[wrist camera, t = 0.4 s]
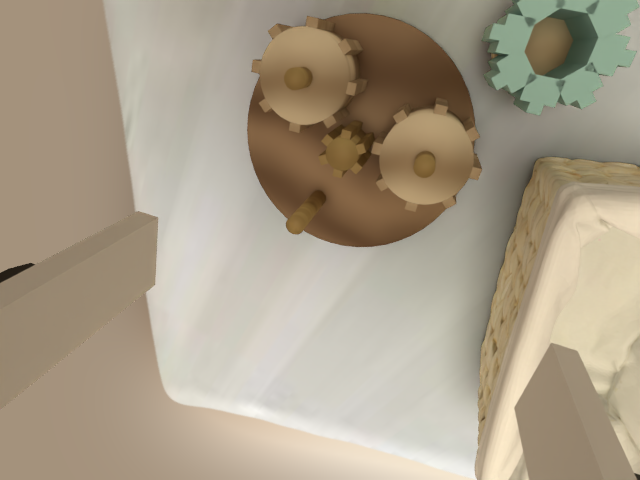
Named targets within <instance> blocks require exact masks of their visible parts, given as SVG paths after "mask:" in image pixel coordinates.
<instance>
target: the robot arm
mask: <svg viewBox="0 0 640 480" xmlns="http://www.w3.org/2000/svg"><path fill="white" fill-rule="evenodd" d="M157 232H158V217H155V216H152V215H149V214H146V213H142V212H139V211H138V212H136V213H134V214H132V215H130V216H128V217H126V218H124V219H122V220H120V221H118V222H117V223H115V224H113V225H111V226H109V227H107V228H105V229H103V230H102V231H100V232H97V233H95V234H94V235H92V236H90V237H88V238H86V239H84V240H82V241H80V242H78V243H76V244H74V245H72V246H71V247H68V248H67V249H65V250H63V251H61V252H59V253H57V254H55V255H53V256H51V257H49V258H47V259H45V260H44V261H42V262H40V263H38V264H36V265H35V264H32V263H29V264H25V265H22V266H17V267H14V268H10V269H7V270H5V271H3V272H1V273H0V410H1V409H2V408H3V407H4V406H6V405H7V404H8V403H9V402H10V401H12V400H13V399H14V398H16V397H17V396H18V395H19V394H20V393H22V392H23V391H24V390H25V389H27V388H28V387H29V386H30V385H32V384H33V383H34V382H35V381H37V380H38V379H39V378H40V377H41V376H43V375H44V374H45V373H46V372H48V371H49V370H50V369H51V368H53V367H54V366H55V365H56V364H58V363H59V362H60V361H61V360H63V359H64V358H65V357H66V356H68V355H69V354H70V353H71V352H72V351H74V350H75V349H76V348H77V347H78V346H80V345H81V344H82V343H84V342H85V341H86V340H87V339H89V338H90V337H91V336H92V335H93V334H95V333H96V332H97V331H98V330H100V329H101V328H102V327H103V326H104V325H106V324H107V323H108V322H109V321H111V320H112V319H113V318H114V317H116V316H117V315H118V314H119V313H121V312H122V311H123V310H124V309H126V308H127V307H128V306H129V305H130V304H132V303H133V302H134V301H136V300H137V299H138V298H139V297H140V296H142V295H143V294H144V293H145V292H147V291H148V290H149V289H150V288H152V287H153V286H154V285H155V275H156V254H157ZM514 410H515V414H516V419H517V424H518V429H519V434H520V438H521V443H522V448H523V453H524V458H525V462H526V467H527V472H528V477H529V480H640V475H639V474H636V473H634V472H633V470H632V468H631V465H630V463H629V461H628V459H627V457H626V455H625V452H624V450H623V448H622V446H621V444H620V442H619V439H618V437H617V435H616V433H615V431H614V429H613V426H612V424H611V422H610V420H609V418H608V416H607V413H606V411H605V409H604V407H603V405H602V403H601V400H600V398H599V396H598V394H597V392H596V390H595V387H594V385H593V383H592V381H591V379H590V377H589V374H588V372H587V370H586V368H585V366H584V364H583V361H582V359H581V357H580V355H579V353H578V351H576V350H573V349H570V348H567V347H564V346H561V345H558V344H554V343H551V344H550V346H549V347H548V349H547V351H546V353H545V354H544V356H543V358H542V360H541V361H540V363H539V365H538V367H537V368H536V370H535V372H534V374H533V375H532V377H531V379H530V381H529V382H528V384H527V386H526V388H525V389H524V391H523V393H522V395H521V396H520V398H519V400H518V402H517V404H516V405H515V407H514Z"/></svg>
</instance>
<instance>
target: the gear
mask: <svg viewBox="0 0 640 480" xmlns="http://www.w3.org/2000/svg"><path fill="white" fill-rule="evenodd" d="M512 2H513V4H514V5H513V6H512V7H510V8H509V9H507V10H506V11H505V13H506V15H505V16H504V17H502V18H500V19H499V20H498V22H497V24H496V23H493V24H492V25H490V26H488V27H486V29H485V32H484V35H483V38H482V41H484V42H489V43H490V46H489V49H488V53H493V54H497V55H498V56H496V57H495V58H493V59H491V60H490V61H488V63H489V65H490V67H491V69H492V70H490V71H489V72H487V73H486V74H484V77H485V79H486V81H487V83H488V85H489V86H491V87H492V88H494V89H496V90H499V89H500V88H502V89H504V90H506V91H508V93H509V94H510V95H512V96H514V97H516V98H515V101H514V105H516V106H517V107H519V108H520V109H522V110H523V111H525V112H526V113H531V114H535V115H540V114H541V112H542V109H543V107H544V105H545V106H550V107H554V108H555V106H556V103H557V102H558V103H561V104H563V105H566V106H567V105H572V106H575V107H577V108H580V109H583V108H585V107H587V106H589V105H590V104H592V103H594V102H596V99H595V97H594V95H593V93H592V92H593V91H595V90H597V89H599V88H600V87H602V86H603V84H602V82H601V79H600V77H599V75H605V76H613V74H614V72H615V70H616V68H617V67H630V65H631V63H632V61H633V59H634V57H635V54H636V52H637V51H632V50H627V49H625V48H626V46H627V44H628V42H629V40H630V37H627V36H622V35H617V34H616V33H618V32H620V31H621V30H623V29H625V28H627V27H628V26H630V25H631V23H630V21H629V18H628V16H627V14H628V13H630V12H632V11H633V10H635V9H637V8H638V7H639V4H638V2H637V0H512ZM546 17H551V18H556V19H561V20H564V21H565V23H566V25H567V28H568V30H569V32H570V34H571V36H572V38H573V42H572V44H571V47H570V49H569V52H568V54H567V57H566V59H565V62H564V63H563V64H562V65H560V66H558V67H556V68H555V69H553V70H551V71H550V72H548V73H546V74H544V75H543V76H541V75H537V74H535V73H534V71H533V69H532V67H531V65H530V63H529V60H528V58H527V56H526V54H525V52H524V51H525V49H526V46H527V43H528V41H529V38H530V35H531V32H532V30H533V27H534V25H535V24H536V23H538V22H539V21H541V20H543V19H544V18H546Z"/></svg>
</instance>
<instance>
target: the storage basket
mask: <svg viewBox="0 0 640 480" xmlns="http://www.w3.org/2000/svg"><path fill="white" fill-rule="evenodd" d="M551 343H554V344H558V345H561V346H564V347H567V348H570V349H573V350H576V351H578V353H579V355H580V357H581V359H582V361H583V364H584V366H585V368H586V370H587V372H588V374H589V377H590V379H591V381H592V383H593V385H594V387H595V390H596V392H597V394H598V396H599V398H600V400H601V403H602V405H603V407H604V409H605V411H606V413H607V416H608V418H609V420H610V422H611V424H612V426H613V429H614V431H615V433H616V435H617V437H618V439H619V442H620V444H621V446H622V448H623V450H624V452H625V455H626V457H627V459H628V461H629V463H630V465H631V468H632V470H633V472H634V473H636V474H639V475H640V167H637V166H636V165H633V164H628V163H620V162H604V163H599V162H596V161H591V160H584V159H574V160H570V159H568V158H559V157H545V158H540V159H538V160H537V161H536V162H535V165H534V169H533V175H532V178H531V180H530V181H529V183H528V185H527V186H526V188H525V191H524V194H523V198H522V205H521V207H520V209H519V212H518V214H517V221H516V225H515V227H514V232H513V233H512V235H511V237H510V239H509V241H508V244H507V247H506V252H505V260H504V264H503V266H502V268H501V270H500V273H499V277H498V281H497V291H496V292H495V294H494V297H493V300H492V305H491V316H490V319H489V323H488V326H487V331H486V335H485V339H484V342H483V343H482V346H481V359H480V364H481V366H480V373H479V374H480V387H479V389H478V398H479V400H478V408H479V412H478V421H479V427H478V431H479V435H478V446H479V447H478V450H477V456H476V461H475V476H476V478H477V480H529V477H528V472H527V467H526V462H525V458H524V453H523V448H522V443H521V438H520V434H519V429H518V424H517V419H516V414H515V410H514V407H515V405H516V404H517V402H518V400H519V398H520V396H521V395H522V393H523V391H524V389H525V388H526V386H527V384H528V382H529V381H530V379H531V377H532V375H533V374H534V372H535V370H536V368H537V367H538V365H539V363H540V361H541V360H542V358H543V356H544V354H545V353H546V351H547V349H548V347H549V346H550V344H551Z"/></svg>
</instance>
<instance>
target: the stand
mask: <svg viewBox="0 0 640 480" xmlns="http://www.w3.org/2000/svg"><path fill="white" fill-rule="evenodd" d="M572 42H573V38H572V36H571V34H570V32H569V30H568V28H567V25H566V23H565V21H564V20H561V19H556V18H551V17H546V18H544V19H543V20H541V21H539V22H538V23H536V24H535V25H534V27H533V30H532V32H531V35H530V38H529V41H528V43H527V46H526V49H525V51H524V52H525V54H526V56H527V58H528V60H529V63H530V65H531V67H532V69H533V71H534V73H535V74H537V75H541V76H543V75H544V74H546V73H548V72H550V71H551V70H553V69H555V68H556V67H558V66H560V65H562V64H563V63H564V62H565V59H566V57H567V54H568V52H569V49H570V47H571V44H572ZM496 56H498V55H497V54H493V53H491V57H492V59H493V58H495V57H496Z"/></svg>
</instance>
